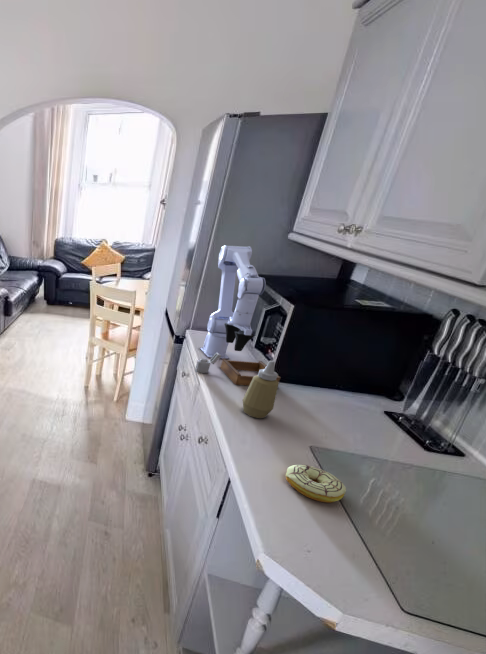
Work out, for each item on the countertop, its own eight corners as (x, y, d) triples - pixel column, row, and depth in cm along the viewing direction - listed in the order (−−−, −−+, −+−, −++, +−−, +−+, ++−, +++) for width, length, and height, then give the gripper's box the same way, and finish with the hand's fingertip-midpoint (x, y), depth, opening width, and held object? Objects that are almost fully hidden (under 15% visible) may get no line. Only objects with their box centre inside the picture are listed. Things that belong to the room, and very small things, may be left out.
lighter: (196, 372, 148) (201, 353, 144) (194, 370, 149) (199, 351, 146) (216, 373, 147) (221, 354, 143) (214, 371, 148) (220, 352, 145)
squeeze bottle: (260, 407, 125) (278, 356, 118) (275, 421, 118) (295, 368, 111) (234, 405, 126) (250, 354, 119) (247, 419, 119) (265, 366, 111)
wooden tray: (219, 367, 151) (222, 358, 150) (258, 370, 149) (261, 361, 148) (234, 384, 139) (238, 374, 137) (277, 388, 137) (280, 377, 136)
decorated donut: (298, 468, 99) (303, 456, 97) (350, 496, 90) (356, 483, 89) (274, 480, 94) (279, 468, 93) (326, 512, 86) (333, 498, 84)
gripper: (224, 304, 146) (214, 338, 151) (240, 317, 133) (229, 353, 138) (244, 305, 145) (234, 339, 150) (263, 318, 132) (251, 355, 137)
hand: (233, 346), depth 144 cm, fingers open, 7 cm apart
